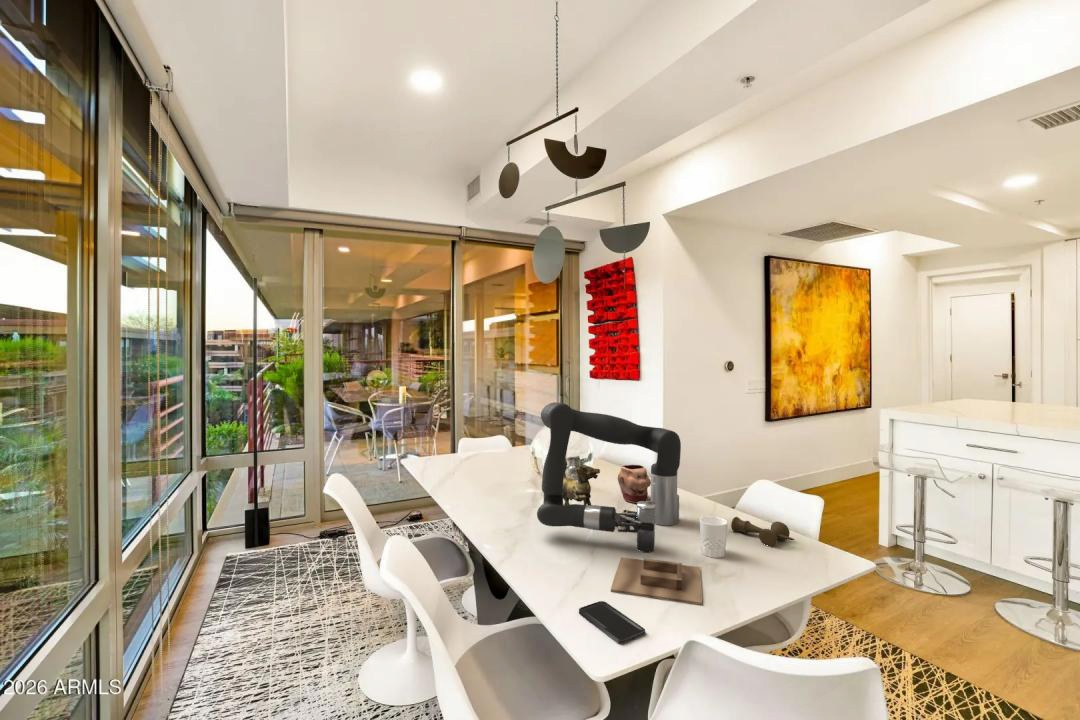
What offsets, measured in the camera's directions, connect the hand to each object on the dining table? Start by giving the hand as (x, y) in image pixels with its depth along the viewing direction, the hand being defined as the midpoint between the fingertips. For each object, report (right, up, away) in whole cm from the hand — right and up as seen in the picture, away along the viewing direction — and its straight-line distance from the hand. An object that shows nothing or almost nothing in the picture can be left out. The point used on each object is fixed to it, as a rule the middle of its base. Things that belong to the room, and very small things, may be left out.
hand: (654, 523), depth 147 cm
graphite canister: (-2, -8, +1) cm, 8 cm away
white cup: (+17, -8, -2) cm, 19 cm away
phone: (-19, -9, -40) cm, 45 cm away
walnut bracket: (-3, -8, -20) cm, 22 cm away
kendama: (+38, -9, +9) cm, 40 cm away
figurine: (-22, -8, +32) cm, 40 cm away
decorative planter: (+3, -8, +52) cm, 52 cm away
